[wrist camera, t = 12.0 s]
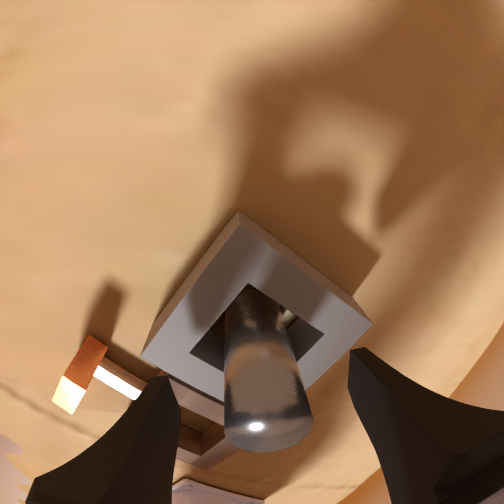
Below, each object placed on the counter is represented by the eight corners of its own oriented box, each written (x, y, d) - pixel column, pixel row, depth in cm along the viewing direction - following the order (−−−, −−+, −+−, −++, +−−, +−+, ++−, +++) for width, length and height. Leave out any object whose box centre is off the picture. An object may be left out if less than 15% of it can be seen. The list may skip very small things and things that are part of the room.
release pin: (177, 388, 18) (169, 436, 14) (157, 409, 18) (147, 454, 15) (89, 334, 16) (62, 375, 12) (75, 360, 17) (51, 401, 13)
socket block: (265, 401, 19) (269, 426, 17) (208, 448, 20) (207, 470, 18) (173, 353, 17) (167, 377, 15) (126, 410, 19) (119, 432, 17)
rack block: (352, 296, 17) (373, 324, 14) (263, 387, 18) (268, 421, 16) (238, 209, 15) (240, 224, 12) (152, 324, 17) (139, 356, 14)
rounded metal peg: (291, 310, 17) (330, 420, 9) (254, 345, 17) (270, 460, 10) (250, 278, 16) (267, 386, 8) (213, 317, 17) (205, 433, 9)
